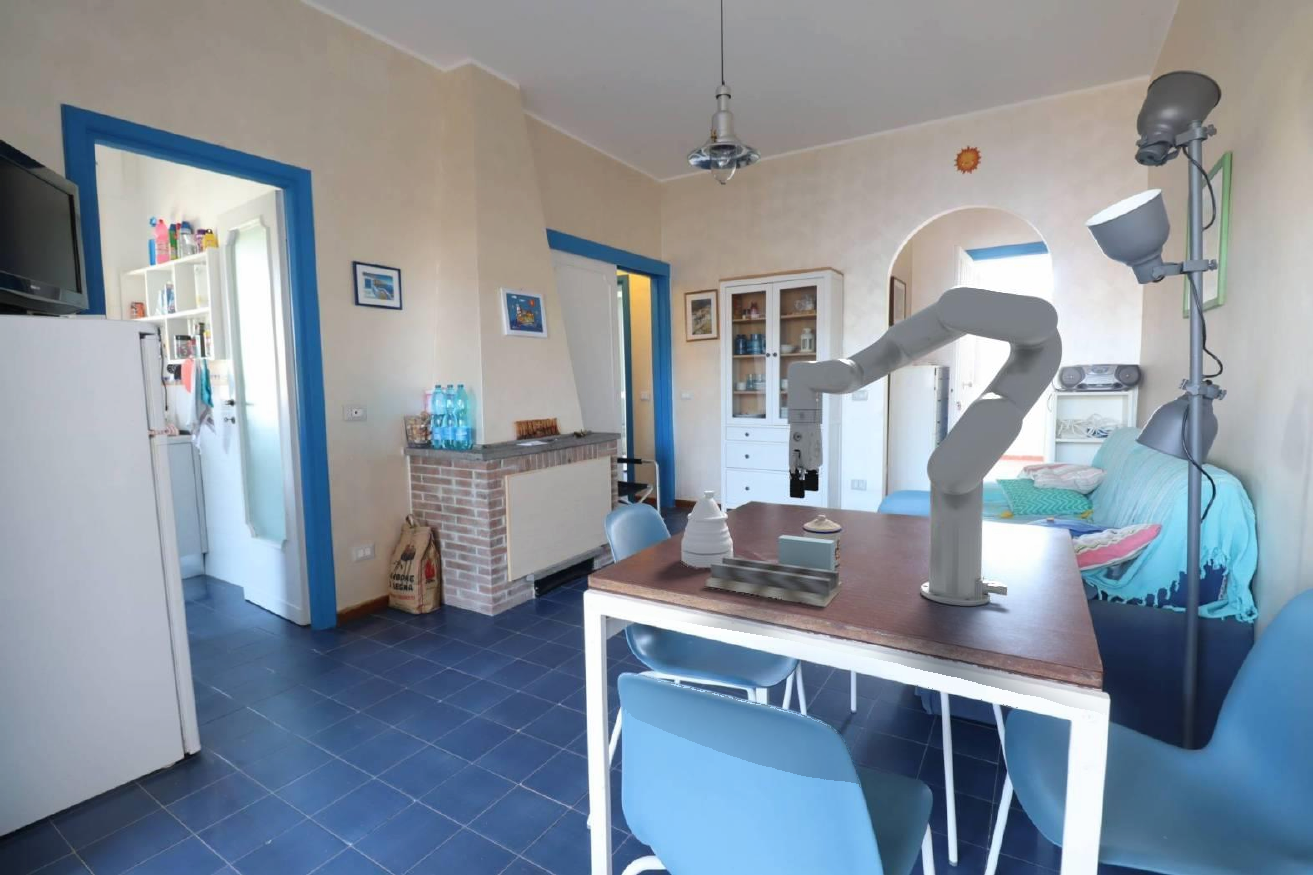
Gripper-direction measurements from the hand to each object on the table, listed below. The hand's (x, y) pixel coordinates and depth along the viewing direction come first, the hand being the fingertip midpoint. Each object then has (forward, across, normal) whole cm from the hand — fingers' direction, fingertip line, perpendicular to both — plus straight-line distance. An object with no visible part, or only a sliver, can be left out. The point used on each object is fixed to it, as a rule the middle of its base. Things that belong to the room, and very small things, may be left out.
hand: (804, 494), depth 138 cm
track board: (+19, -10, +4) cm, 22 cm away
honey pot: (+20, +2, +26) cm, 32 cm away
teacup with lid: (+19, +15, 0) cm, 24 cm away
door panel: (+19, 0, 0) cm, 19 cm away
